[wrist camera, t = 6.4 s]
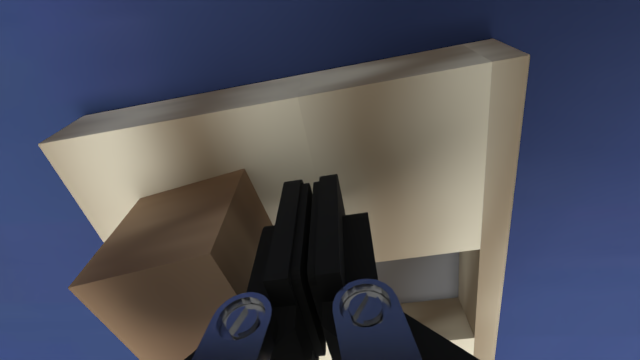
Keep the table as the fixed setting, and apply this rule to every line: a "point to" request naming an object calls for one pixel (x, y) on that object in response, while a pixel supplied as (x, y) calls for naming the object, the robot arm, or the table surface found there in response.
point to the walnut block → (175, 264)
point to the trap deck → (345, 165)
